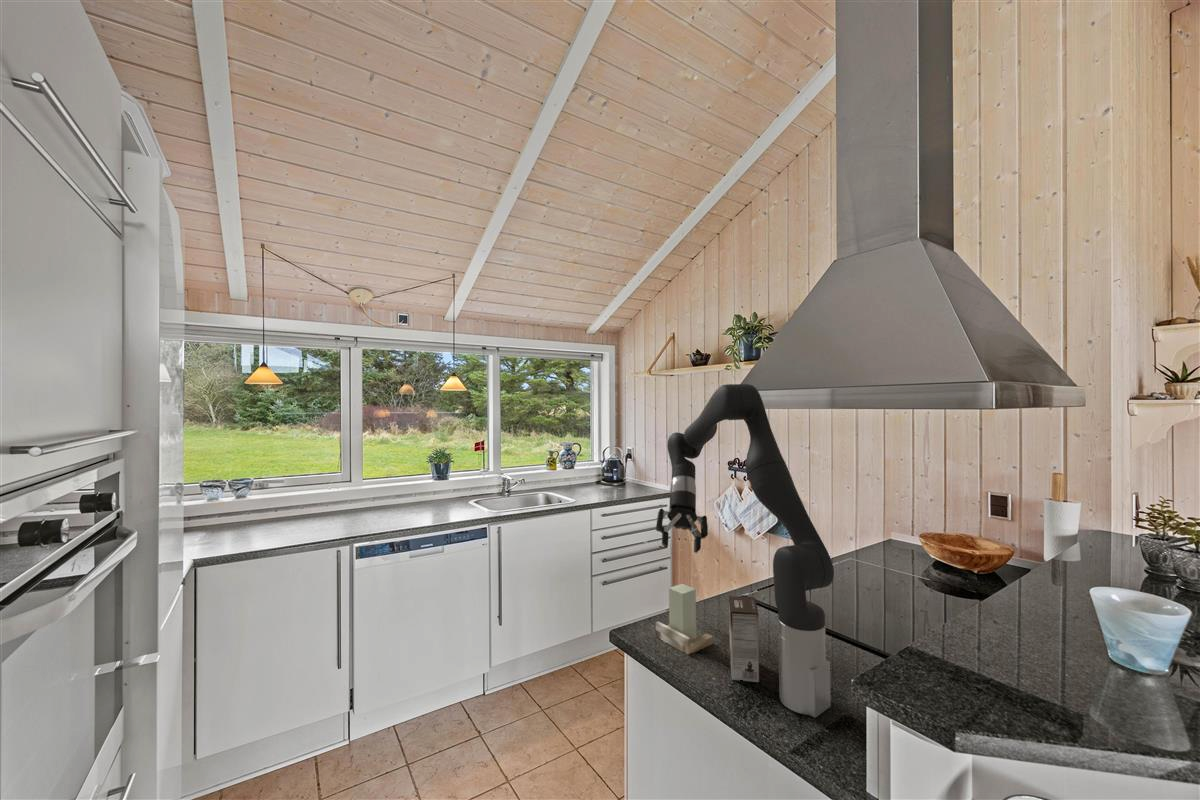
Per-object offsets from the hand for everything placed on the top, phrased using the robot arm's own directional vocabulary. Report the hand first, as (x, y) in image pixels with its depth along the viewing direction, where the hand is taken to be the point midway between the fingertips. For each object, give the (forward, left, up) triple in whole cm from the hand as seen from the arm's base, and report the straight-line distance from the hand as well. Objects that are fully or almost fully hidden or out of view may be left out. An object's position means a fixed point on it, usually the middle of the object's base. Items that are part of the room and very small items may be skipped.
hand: (681, 549), depth 135 cm
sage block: (-3, +3, -23) cm, 24 cm away
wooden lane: (-3, +3, -23) cm, 24 cm away
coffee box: (-22, +2, -23) cm, 32 cm away
